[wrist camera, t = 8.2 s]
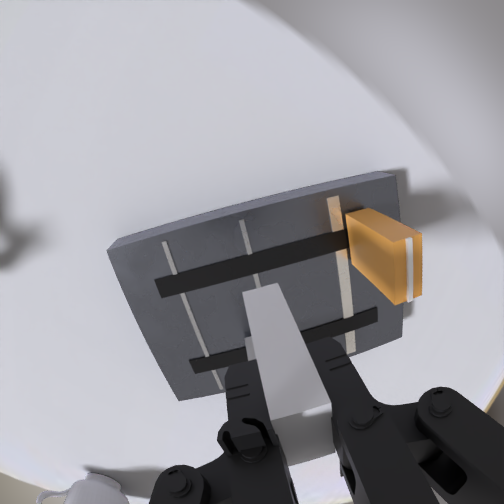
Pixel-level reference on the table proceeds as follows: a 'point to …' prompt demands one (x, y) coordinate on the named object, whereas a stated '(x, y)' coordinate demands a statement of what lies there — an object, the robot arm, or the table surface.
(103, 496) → the teacup
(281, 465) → the robot arm
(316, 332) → the console
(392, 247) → the fader orange
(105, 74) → the table surface
